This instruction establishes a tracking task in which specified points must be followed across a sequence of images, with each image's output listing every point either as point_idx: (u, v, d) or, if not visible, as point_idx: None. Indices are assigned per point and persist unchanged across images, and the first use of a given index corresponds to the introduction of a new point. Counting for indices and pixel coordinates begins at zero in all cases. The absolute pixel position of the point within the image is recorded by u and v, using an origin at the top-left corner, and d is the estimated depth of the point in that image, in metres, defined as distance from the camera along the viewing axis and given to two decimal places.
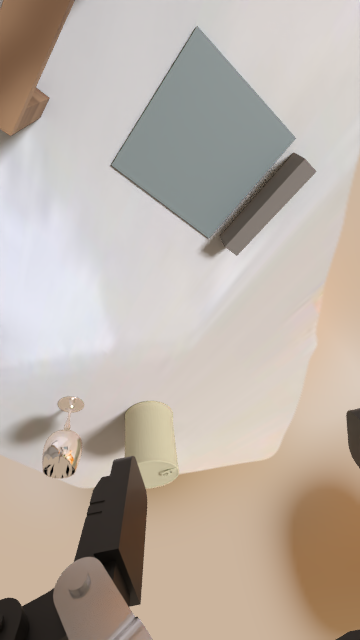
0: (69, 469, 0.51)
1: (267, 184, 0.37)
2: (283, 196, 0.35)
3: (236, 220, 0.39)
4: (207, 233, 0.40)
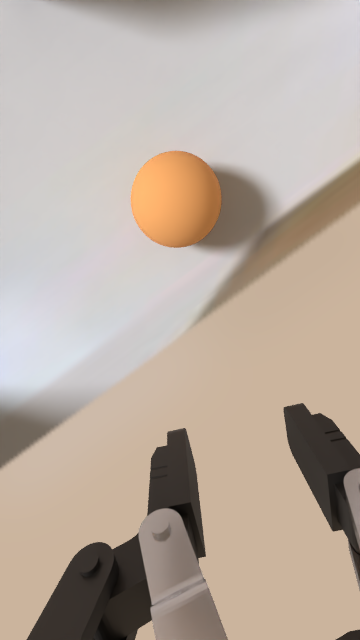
0: None
1: None
2: None
3: None
4: None
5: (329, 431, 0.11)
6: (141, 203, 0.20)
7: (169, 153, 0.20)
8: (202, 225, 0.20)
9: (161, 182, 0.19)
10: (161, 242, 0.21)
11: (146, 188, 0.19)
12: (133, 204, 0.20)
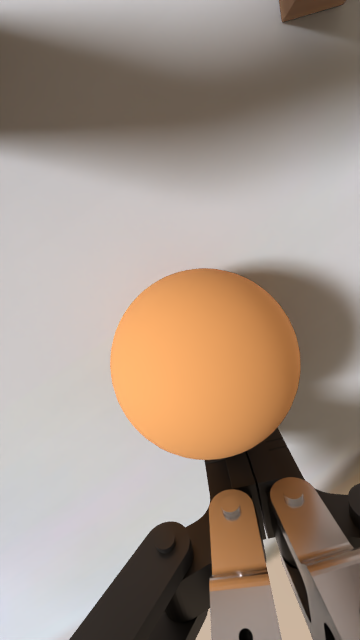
0: None
1: None
2: None
3: None
4: None
5: (273, 439, 0.11)
6: (122, 321, 0.10)
7: None
8: (256, 336, 0.08)
9: (161, 279, 0.10)
10: (158, 403, 0.08)
11: (135, 299, 0.10)
12: None
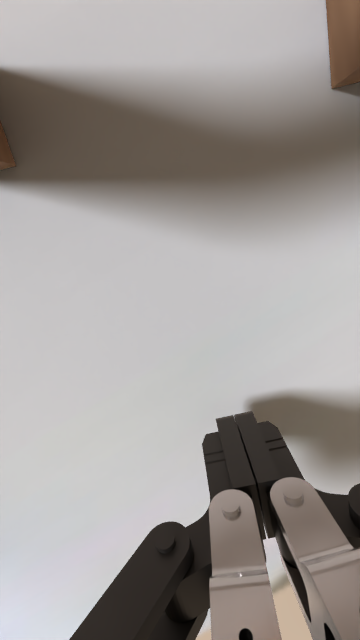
0: None
1: None
2: None
3: None
4: None
5: (272, 439, 0.11)
6: None
7: None
8: None
9: None
10: None
11: None
12: None
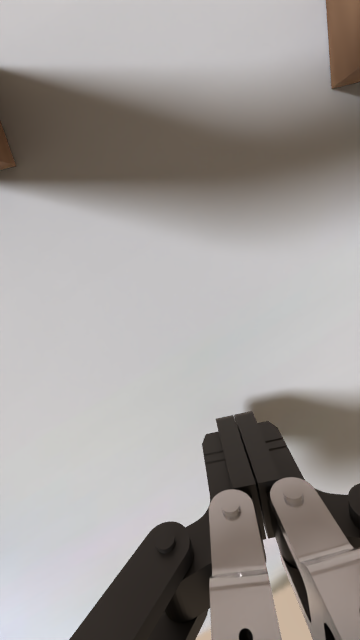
0: None
1: None
2: None
3: None
4: None
5: (272, 439, 0.11)
6: None
7: None
8: None
9: None
10: None
11: None
12: None
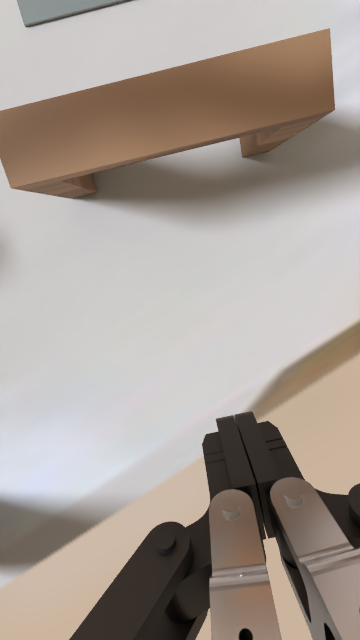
0: None
1: None
2: None
3: None
4: None
5: (272, 439, 0.11)
6: None
7: None
8: None
9: None
10: None
11: None
12: None
